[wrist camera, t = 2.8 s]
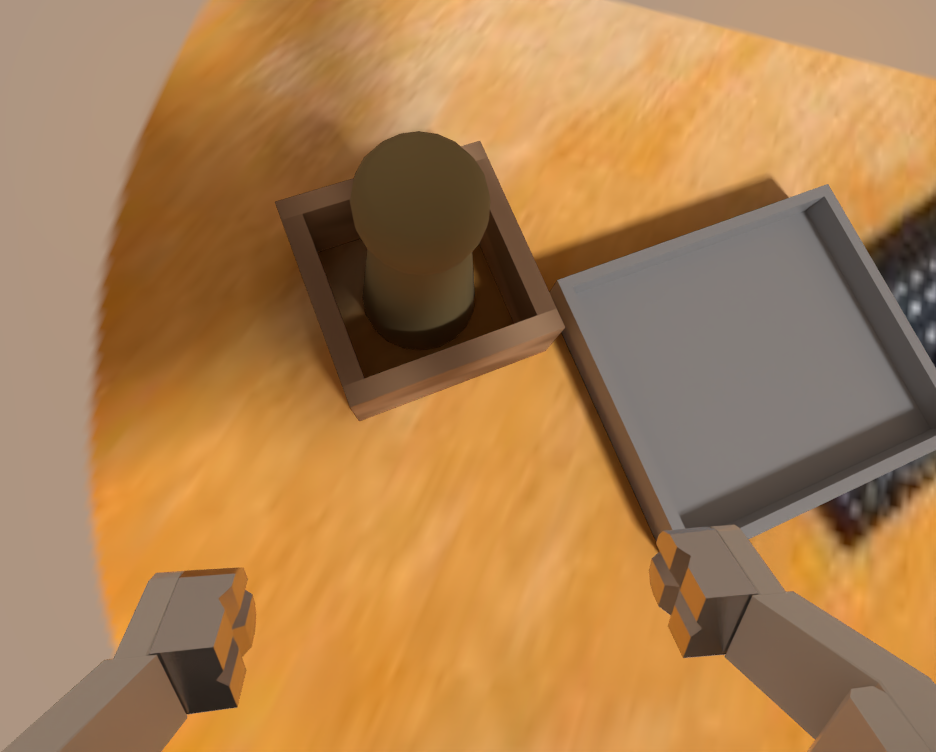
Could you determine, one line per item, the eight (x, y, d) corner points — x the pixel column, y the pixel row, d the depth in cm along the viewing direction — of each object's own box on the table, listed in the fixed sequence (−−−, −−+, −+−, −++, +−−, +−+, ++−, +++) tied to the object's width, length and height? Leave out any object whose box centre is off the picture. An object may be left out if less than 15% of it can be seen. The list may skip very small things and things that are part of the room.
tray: (797, 207, 33) (827, 184, 30) (928, 437, 30) (972, 431, 28) (545, 298, 30) (557, 280, 28) (665, 561, 27) (689, 567, 25)
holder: (472, 185, 31) (480, 140, 27) (545, 350, 29) (565, 327, 25) (293, 241, 29) (274, 201, 26) (359, 421, 28) (350, 407, 24)
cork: (380, 232, 30) (362, 82, 19) (486, 261, 30) (525, 129, 20) (348, 333, 29) (308, 230, 18) (459, 362, 29) (485, 279, 18)
